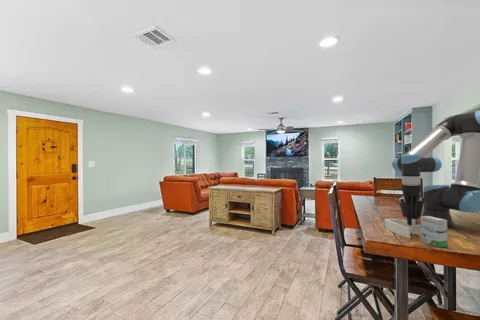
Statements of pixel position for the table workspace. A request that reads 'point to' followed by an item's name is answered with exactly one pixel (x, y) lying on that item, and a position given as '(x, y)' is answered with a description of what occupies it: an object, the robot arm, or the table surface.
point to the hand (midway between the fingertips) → (412, 231)
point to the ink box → (434, 231)
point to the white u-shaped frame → (400, 227)
